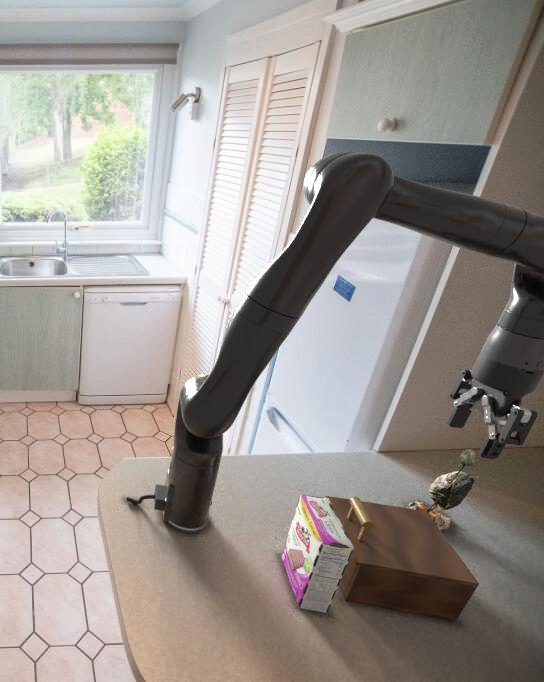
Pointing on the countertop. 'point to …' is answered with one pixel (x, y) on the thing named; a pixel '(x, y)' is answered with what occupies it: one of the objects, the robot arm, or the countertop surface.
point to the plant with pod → (448, 491)
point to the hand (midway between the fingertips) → (469, 441)
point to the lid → (399, 541)
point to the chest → (404, 592)
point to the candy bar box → (316, 553)
